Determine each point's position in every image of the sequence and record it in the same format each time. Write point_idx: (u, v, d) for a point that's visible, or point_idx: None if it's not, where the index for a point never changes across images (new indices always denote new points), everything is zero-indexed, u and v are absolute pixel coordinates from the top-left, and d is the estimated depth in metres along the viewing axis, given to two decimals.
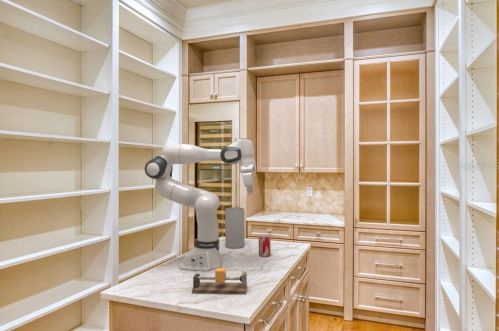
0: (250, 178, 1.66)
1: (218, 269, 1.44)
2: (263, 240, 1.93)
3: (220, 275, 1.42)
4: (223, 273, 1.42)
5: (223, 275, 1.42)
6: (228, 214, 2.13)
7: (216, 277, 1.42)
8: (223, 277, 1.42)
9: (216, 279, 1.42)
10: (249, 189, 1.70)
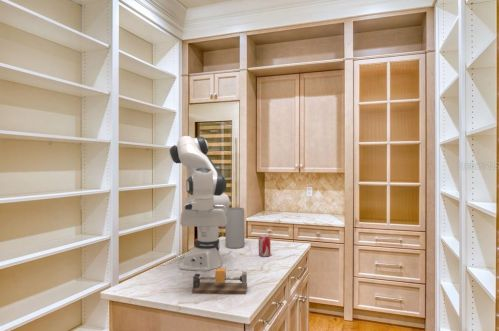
0: (181, 217, 1.43)
1: (218, 269, 1.44)
2: (263, 240, 1.93)
3: (220, 275, 1.42)
4: (223, 273, 1.42)
5: (223, 275, 1.42)
6: (228, 214, 2.13)
7: (216, 277, 1.42)
8: (223, 277, 1.42)
9: (216, 279, 1.42)
10: None
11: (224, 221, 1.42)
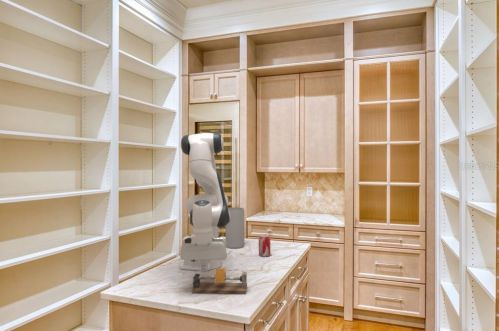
0: None
1: (218, 269, 1.44)
2: (263, 240, 1.93)
3: (220, 275, 1.42)
4: (223, 273, 1.42)
5: (223, 275, 1.42)
6: None
7: (216, 277, 1.42)
8: (223, 277, 1.42)
9: (216, 279, 1.42)
10: None
11: (224, 254, 1.42)
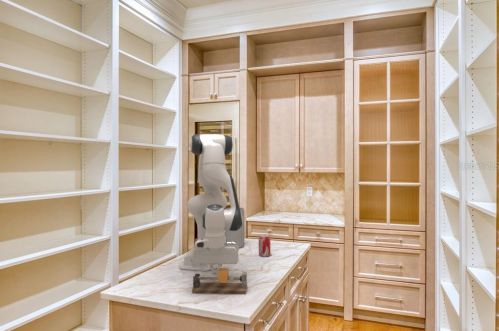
0: (192, 254, 1.43)
1: (221, 269, 1.44)
2: (263, 240, 1.93)
3: (223, 275, 1.42)
4: (226, 273, 1.42)
5: (226, 275, 1.42)
6: None
7: (219, 277, 1.42)
8: (226, 277, 1.42)
9: (219, 279, 1.42)
10: None
11: (236, 259, 1.42)
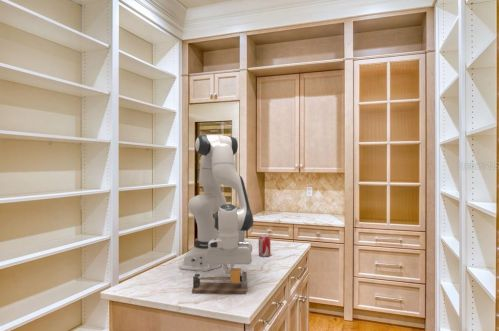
0: (205, 254, 1.43)
1: (233, 269, 1.44)
2: (263, 240, 1.93)
3: (235, 275, 1.42)
4: (238, 273, 1.42)
5: (238, 275, 1.42)
6: None
7: (231, 277, 1.42)
8: (238, 277, 1.42)
9: (231, 279, 1.42)
10: None
11: (249, 259, 1.41)
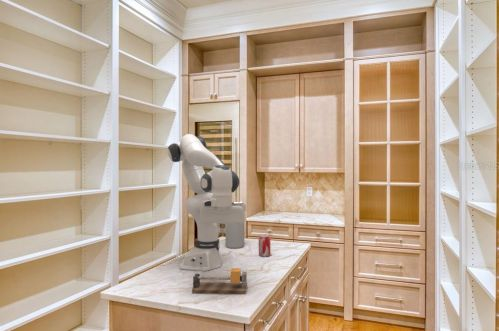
0: (199, 213, 1.45)
1: (233, 269, 1.44)
2: (263, 240, 1.93)
3: (235, 275, 1.42)
4: (238, 273, 1.42)
5: (238, 275, 1.42)
6: None
7: (231, 277, 1.42)
8: (238, 277, 1.42)
9: (231, 279, 1.42)
10: None
11: (243, 218, 1.43)
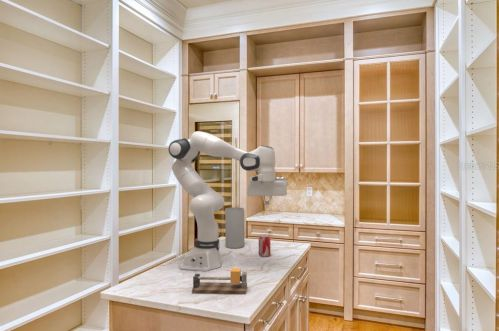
0: None
1: (233, 269, 1.44)
2: (263, 240, 1.93)
3: (235, 275, 1.42)
4: (238, 273, 1.42)
5: (238, 275, 1.42)
6: (228, 214, 2.13)
7: (231, 277, 1.42)
8: (238, 277, 1.42)
9: (231, 279, 1.42)
10: (262, 198, 1.67)
11: (285, 191, 1.65)
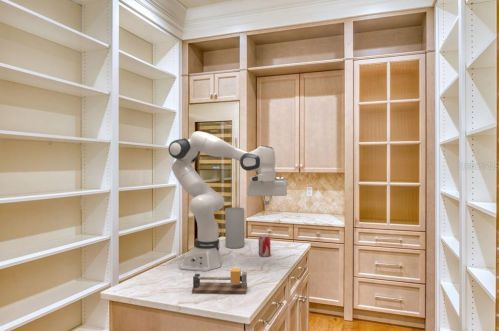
0: None
1: (233, 269, 1.44)
2: (263, 240, 1.93)
3: (235, 275, 1.42)
4: (238, 273, 1.42)
5: (238, 275, 1.42)
6: (228, 214, 2.13)
7: (231, 277, 1.42)
8: (238, 277, 1.42)
9: (231, 279, 1.42)
10: (262, 198, 1.67)
11: (285, 191, 1.65)
